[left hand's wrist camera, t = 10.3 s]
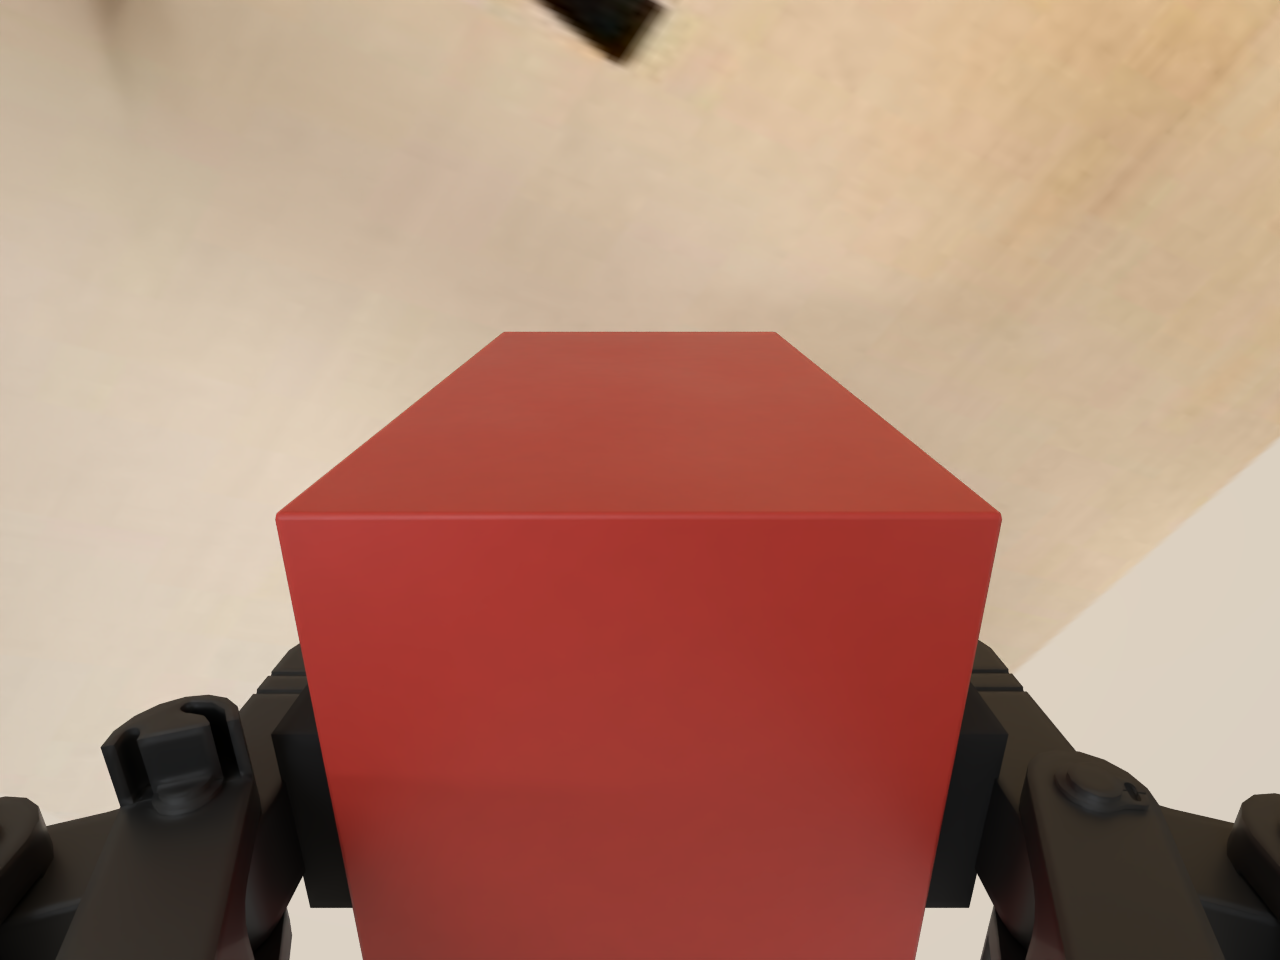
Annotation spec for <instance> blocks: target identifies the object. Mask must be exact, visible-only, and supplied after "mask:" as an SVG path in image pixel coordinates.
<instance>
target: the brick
mask: <svg viewBox="0 0 1280 960" xmlns="http://www.w3.org/2000/svg"><path fill="white" fill-rule="evenodd" d="M275 520H276V525H277V530H278V535H279V540H280V545H281V550H282V555H283V560H284V565H285V570H286V575H287V580H288V585H289V590H290V596H291V601H292V606H293V611H294V616H295V621H296V626H297V631H298V636H299V641H300V646H301V651H302V656H303V661H304V666H305V671H306V676H307V681H308V686H309V691H310V696H311V701H312V706H313V711H314V716H315V721H316V726H317V731H318V736H319V741H320V746H321V751H322V756H323V761H324V766H325V771H326V776H327V781H328V786H329V791H330V796H331V801H332V806H333V811H334V816H335V821H336V826H337V832H338V837H339V842H340V847H341V852H342V857H343V862H344V867H345V872H346V877H347V882H348V887H349V892H350V897H351V902H352V907H353V912H354V917H355V922H356V927H357V932H358V937H359V942H360V947H361V952H362V957H363V960H915V957H916V952H917V946H918V941H919V936H920V931H921V926H922V921H923V916H924V911H925V906H926V901H927V896H928V891H929V886H930V881H931V876H932V871H933V866H934V861H935V855H936V850H937V845H938V840H939V835H940V830H941V825H942V820H943V815H944V810H945V805H946V800H947V795H948V790H949V785H950V780H951V775H952V769H953V764H954V759H955V754H956V749H957V744H958V739H959V734H960V729H961V724H962V719H963V714H964V709H965V704H966V699H967V694H968V689H969V683H970V678H971V673H972V668H973V663H974V658H975V653H976V648H977V643H978V638H979V633H980V628H981V623H982V618H983V613H984V608H985V603H986V597H987V592H988V587H989V582H990V577H991V572H992V567H993V562H994V557H995V552H996V547H997V542H998V537H999V532H1000V527H1001V522H1002V517H1001V514H1000V512H998V511H997V510H996V509H995V508H993V507H992V506H991V505H990V504H989V503H987V502H986V501H985V500H984V499H982V498H981V497H980V496H979V495H977V494H976V493H975V492H974V491H972V490H971V489H970V488H969V487H967V486H966V485H965V484H964V483H962V482H961V481H960V480H959V479H957V478H956V477H955V476H954V475H952V474H951V473H950V472H949V471H947V470H946V469H945V468H944V467H942V466H941V465H940V464H939V463H938V462H936V461H935V460H934V459H933V458H931V457H930V456H929V455H928V454H926V453H925V452H924V451H923V450H921V449H920V448H919V447H918V446H916V445H915V444H914V443H913V442H911V441H910V440H909V439H908V438H906V437H905V436H904V435H903V434H901V433H900V432H899V431H898V430H896V429H895V428H894V427H893V426H892V425H890V424H889V423H888V422H887V421H885V420H884V419H883V418H882V417H880V416H879V415H878V414H877V413H875V412H874V411H873V410H872V409H870V408H869V407H868V406H867V405H865V404H864V403H863V402H862V401H860V400H859V399H858V398H857V397H855V396H854V395H853V394H852V393H850V392H849V391H848V390H847V389H846V388H844V387H843V386H842V385H841V384H839V383H838V382H837V381H836V380H834V379H833V378H832V377H831V376H829V375H828V374H827V373H826V372H824V371H823V370H822V369H821V368H819V367H818V366H817V365H816V364H814V363H813V362H812V361H811V360H809V359H808V358H807V357H806V356H804V355H803V354H802V353H801V352H800V351H798V350H797V349H796V348H795V347H793V346H792V345H791V344H790V343H788V342H787V341H786V340H785V339H783V338H782V337H781V336H780V335H778V334H777V333H776V332H503V333H502V334H501V335H499V336H498V337H497V338H496V339H494V340H493V341H492V342H491V343H489V344H488V345H487V346H485V347H484V348H483V349H482V350H480V351H479V352H478V353H477V354H475V355H474V356H473V357H472V358H470V359H469V360H468V361H467V362H465V363H464V364H463V365H462V366H460V367H459V368H458V369H457V370H455V371H454V372H453V373H452V374H450V375H449V376H448V377H447V378H445V379H444V380H443V381H442V382H440V383H439V384H438V385H437V386H435V387H434V388H433V389H432V390H430V391H429V392H428V393H427V394H425V395H424V396H423V397H422V398H420V399H419V400H418V401H417V402H415V403H414V404H413V405H412V406H410V407H409V408H408V409H407V410H405V411H404V412H403V413H402V414H400V415H399V416H398V417H397V418H395V419H394V420H393V421H392V422H390V423H389V424H388V425H387V426H385V427H384V428H383V429H382V430H380V431H379V432H378V433H377V434H375V435H374V436H373V437H372V438H370V439H369V440H368V441H367V442H365V443H364V444H363V445H362V446H360V447H359V448H358V449H357V450H355V451H354V452H353V453H352V454H350V455H349V456H348V457H346V458H345V459H344V460H343V461H341V462H340V463H339V464H338V465H336V466H335V467H334V468H333V469H331V470H330V471H329V472H328V473H326V474H325V475H324V476H323V477H321V478H320V479H319V480H318V481H316V482H315V483H314V484H313V485H311V486H310V487H309V488H308V489H306V490H305V491H304V492H303V493H301V494H300V495H299V496H298V497H296V498H295V499H294V500H293V501H291V502H290V503H289V504H288V505H286V506H285V507H284V508H283V509H281V510H280V511H279V512H278V513H277V514H276V519H275Z"/></svg>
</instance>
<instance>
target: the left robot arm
mask: <svg viewBox="0 0 1280 960" xmlns="http://www.w3.org/2000/svg"><path fill="white" fill-rule="evenodd" d="M101 750H102V753H103V756H104V759H105V762H106V765H107V768H108V771H109V774H110V777H111V780H112V783H113V786H114V789H115V792H116V795H117V798H118V801H119V803H120V806H121V807H120V809H117V810H113V811H110V812H106V813H102V814H97V815H93V816H89V817H84V818H80V819H76V820H71V821H67V822H63V823H58V824H54V825H50V826H46V825H45V822H44V820H43V817H42V814H41V812H40V809H39V807H38V806H37V805H36V804H34V803H33V802H32V801H30V800H29V799H27V798H20V797H1V798H0V960H289V958H290V949H291V940H292V932H291V925H290V919H289V915H288V911H287V906H288V904H289V902H290V900H291V898H292V896H293V894H294V892H295V890H296V888H297V886H298V884H299V882H300V880H301V878H302V876H303V877H304V882H305V886H306V891H307V895H308V899H309V904H310V907H311V908H353V907H352V902H351V897H350V892H349V887H348V882H347V877H346V872H345V867H344V862H343V857H342V852H341V847H340V842H339V837H338V832H337V826H336V821H335V816H334V811H333V806H332V801H331V796H330V791H329V786H328V781H327V776H326V771H325V766H324V761H323V756H322V751H321V746H320V741H319V736H318V731H317V726H316V721H315V716H314V711H313V706H312V701H311V696H310V691H309V686H308V681H307V676H306V671H305V666H304V661H303V656H302V651H301V646H300V644H298V645H296V646H295V647H293V648H292V649H290V650H289V651H288V652H287V654H286V655H285V656H284V657H283V658H282V660H281V661H280V662H279V663H278V665H277V666H276V667H275V668H274V669H273V671H272V674H271V676H268V677H267V678H266V679H265V680H264V682H263V683H262V684H261V685H260V686H259V688H258V689H257V694H253V695H252V696H251V697H250V699H249V700H248V701H247V702H246V704H245V705H244V706H243V707H242V708H241V710H240V711H239V710H238V706H236V705H235V704H234V703H233V702H231V701H230V700H229V699H228V698H224V697H218V696H213V695H201V696H190V697H184V698H180V699H176V700H173V701H169V702H166V703H162V704H159V705H157V706H155V707H153V708H151V709H149V710H147V711H144V712H142V713H140V714H138V715H136V716H134V717H133V718H131V719H130V720H129V721H127V722H126V723H124V724H123V725H122V726H120V727H119V728H117V729H116V730H115V731H113V733H112V734H111V735H110V736H109V738H108V739H107V740H106V741H105V743H104V744H103V745H102V746H101ZM977 874H978V876H979V878H980V880H981V882H982V883H983V885H984V887H985V889H986V891H987V893H988V895H989V897H990V899H991V901H992V903H993V905H994V906H993V911H992V915H991V919H990V923H989V927H988V931H987V935H986V939H985V943H984V947H983V951H982V955H981V960H1280V794H1276V793H1273V794H1259V795H1253V796H1251V797H1250V798H1249V799H1247V800H1246V801H1244V802H1243V803H1242V805H1241V807H1240V810H1239V812H1238V815H1237V818H1236V820H1235V823H1231V822H1226V821H1222V820H1218V819H1213V818H1209V817H1205V816H1200V815H1196V814H1191V813H1187V812H1183V811H1178V810H1174V809H1170V808H1167V807H1163V806H1160V805H1159V804H1158V803H1157V802H1156V800H1155V799H1154V797H1153V796H1152V794H1151V793H1150V791H1149V790H1148V789H1147V788H1146V787H1145V786H1144V785H1143V784H1141V783H1140V782H1139V781H1138V780H1137V779H1135V778H1134V777H1133V776H1132V775H1130V774H1129V773H1128V772H1126V771H1124V770H1122V769H1120V768H1119V767H1117V766H1115V765H1113V764H1111V763H1109V762H1108V761H1106V760H1104V759H1100V758H1097V757H1094V756H1091V755H1088V754H1085V753H1082V752H1077V751H1075V750H1074V748H1073V747H1072V746H1071V745H1070V743H1069V742H1068V741H1067V740H1066V739H1065V737H1064V736H1063V735H1062V734H1061V732H1060V731H1059V730H1058V729H1057V728H1056V726H1055V725H1054V724H1053V723H1052V722H1051V720H1050V719H1049V718H1048V717H1047V715H1046V714H1045V713H1044V712H1043V711H1042V709H1041V708H1040V707H1039V706H1038V705H1037V703H1036V702H1035V701H1034V700H1033V699H1032V697H1031V696H1030V695H1029V694H1028V693H1027V692H1024V691H1023V686H1022V685H1021V684H1020V683H1019V682H1018V680H1017V679H1016V678H1015V677H1014V676H1013V674H1009V672H1008V668H1007V667H1006V666H1005V665H1004V663H1003V662H1002V661H1001V660H1000V659H999V657H998V656H997V655H996V654H995V652H994V651H993V650H992V649H991V648H990V647H988V646H987V645H985V644H984V643H982V642H981V641H979V640H978V643H977V648H976V653H975V658H974V663H973V668H972V673H971V678H970V683H969V689H968V694H967V699H966V704H965V709H964V714H963V719H962V724H961V729H960V734H959V739H958V744H957V749H956V754H955V759H954V764H953V769H952V775H951V780H950V785H949V790H948V795H947V800H946V805H945V810H944V815H943V820H942V825H941V830H940V835H939V840H938V845H937V850H936V855H935V861H934V866H933V871H932V876H931V881H930V886H929V891H928V896H927V901H926V906H925V908H969V906H970V901H971V897H972V893H973V888H974V884H975V879H976V875H977Z"/></svg>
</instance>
